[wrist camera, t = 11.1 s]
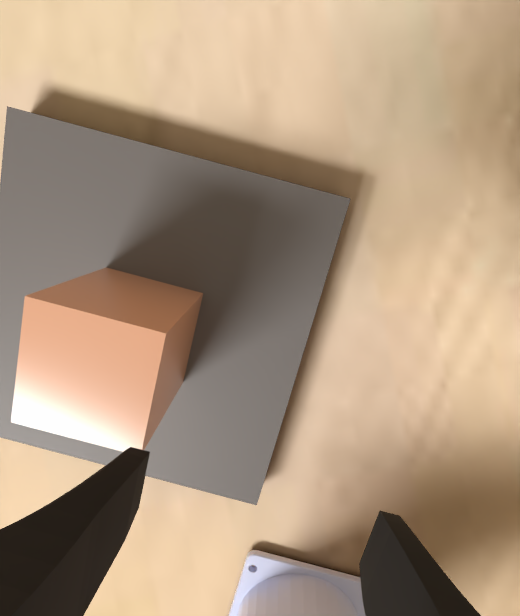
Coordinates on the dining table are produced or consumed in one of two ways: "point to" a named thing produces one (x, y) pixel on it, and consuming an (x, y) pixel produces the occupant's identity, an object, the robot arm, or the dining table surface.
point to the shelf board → (171, 282)
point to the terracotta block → (103, 357)
